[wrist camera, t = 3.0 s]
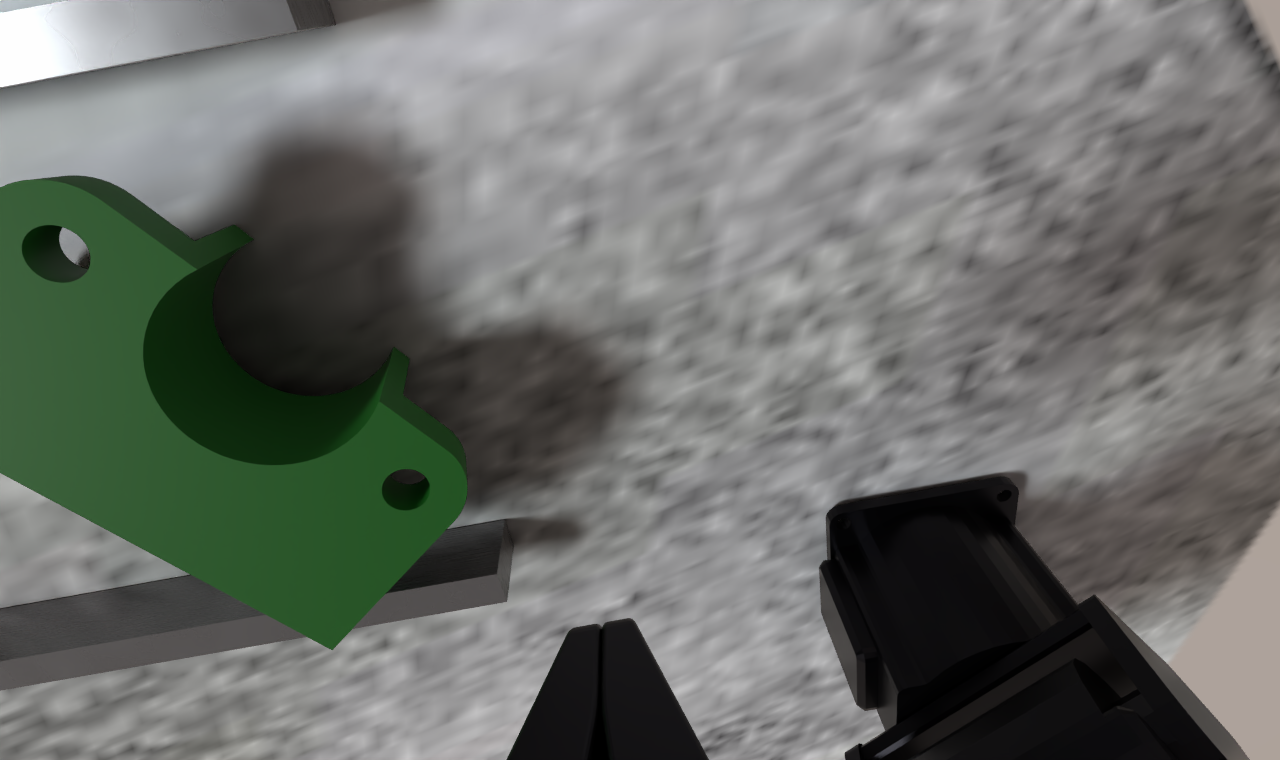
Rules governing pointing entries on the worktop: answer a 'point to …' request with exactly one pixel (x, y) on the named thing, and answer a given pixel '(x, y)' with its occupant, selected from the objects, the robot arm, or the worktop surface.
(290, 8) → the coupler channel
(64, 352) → the clamp
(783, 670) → the worktop surface
